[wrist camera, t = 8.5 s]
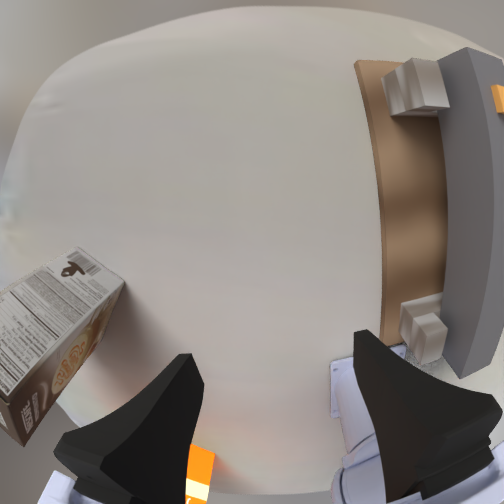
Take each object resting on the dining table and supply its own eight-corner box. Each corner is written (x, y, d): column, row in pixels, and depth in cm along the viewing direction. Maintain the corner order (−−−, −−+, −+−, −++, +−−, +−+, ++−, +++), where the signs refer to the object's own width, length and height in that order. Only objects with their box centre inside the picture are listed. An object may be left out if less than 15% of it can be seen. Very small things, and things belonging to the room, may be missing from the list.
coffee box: (103, 342, 25) (25, 451, 9) (60, 308, 24) (-30, 396, 9) (127, 280, 22) (7, 409, 7) (75, 241, 21) (-58, 327, 6)
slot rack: (471, 312, 21) (501, 341, 16) (379, 341, 23) (401, 383, 17) (465, 76, 14) (506, 65, 8) (353, 64, 15) (383, 33, 10)
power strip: (463, 332, 18) (493, 368, 13) (433, 343, 19) (462, 384, 13) (460, 72, 11) (507, 58, 6) (425, 66, 12) (472, 44, 7)
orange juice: (192, 465, 33) (170, 562, 14) (144, 443, 32) (108, 541, 13) (215, 453, 31) (195, 568, 12) (161, 428, 29) (121, 547, 10)
